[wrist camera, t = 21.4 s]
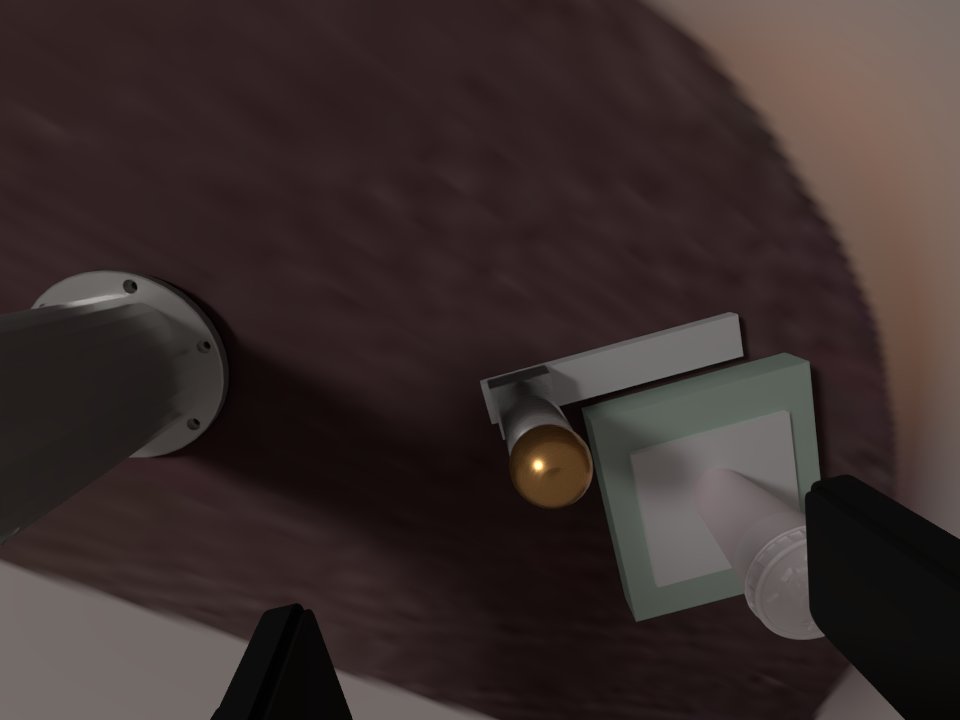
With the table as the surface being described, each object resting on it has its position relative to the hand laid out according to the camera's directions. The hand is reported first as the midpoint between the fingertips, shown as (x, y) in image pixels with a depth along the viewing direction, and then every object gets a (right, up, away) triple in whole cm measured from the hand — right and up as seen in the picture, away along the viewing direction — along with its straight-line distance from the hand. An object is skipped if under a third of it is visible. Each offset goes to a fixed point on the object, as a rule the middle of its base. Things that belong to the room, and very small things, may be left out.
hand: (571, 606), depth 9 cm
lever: (+1, +2, +24) cm, 25 cm away
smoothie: (+15, -5, +25) cm, 30 cm away
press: (+11, -4, +28) cm, 30 cm away
